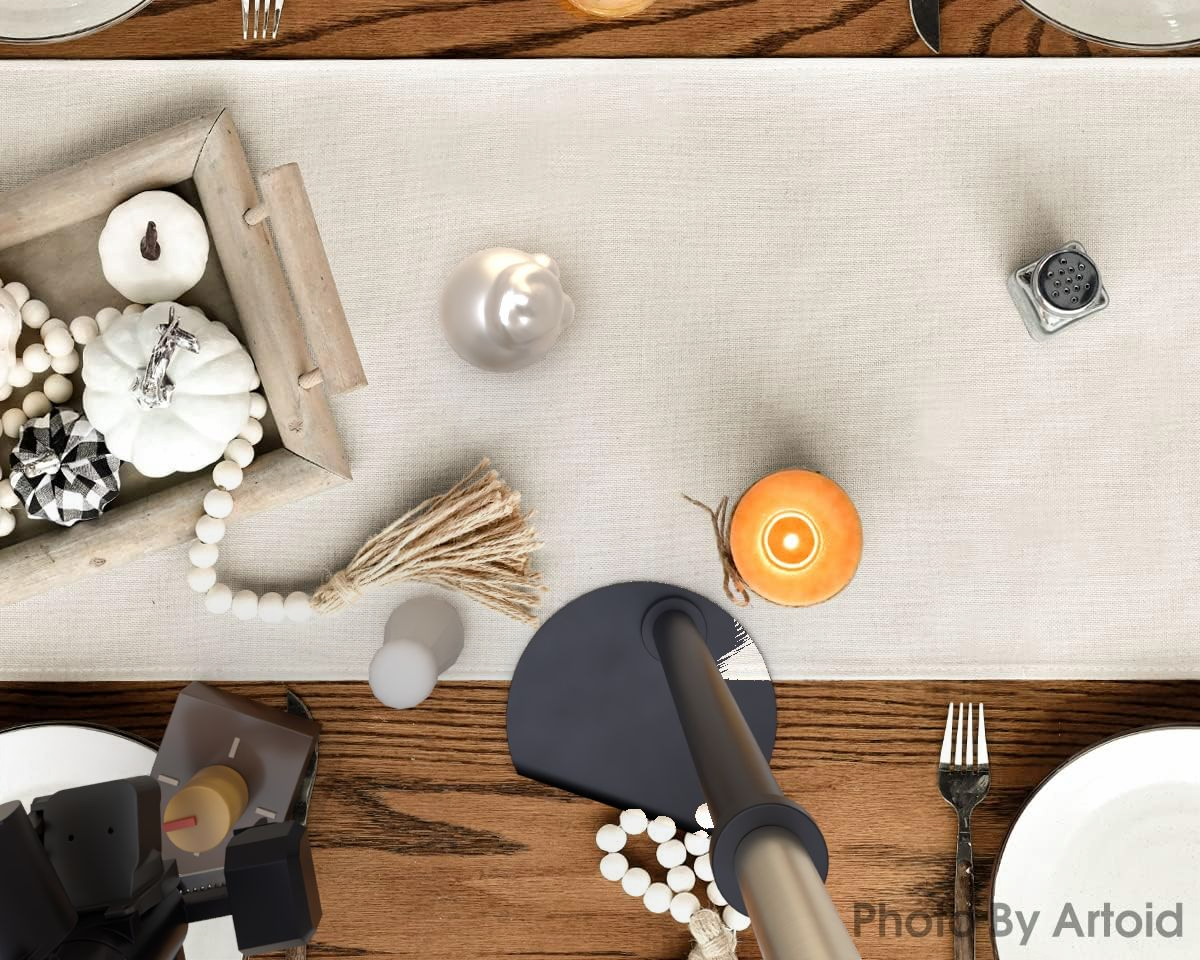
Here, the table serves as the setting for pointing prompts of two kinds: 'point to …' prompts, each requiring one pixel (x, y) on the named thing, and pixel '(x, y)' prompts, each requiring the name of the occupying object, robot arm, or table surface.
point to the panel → (233, 759)
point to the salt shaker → (415, 651)
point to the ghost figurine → (504, 308)
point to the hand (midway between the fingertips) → (192, 838)
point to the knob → (206, 809)
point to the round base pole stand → (676, 748)
